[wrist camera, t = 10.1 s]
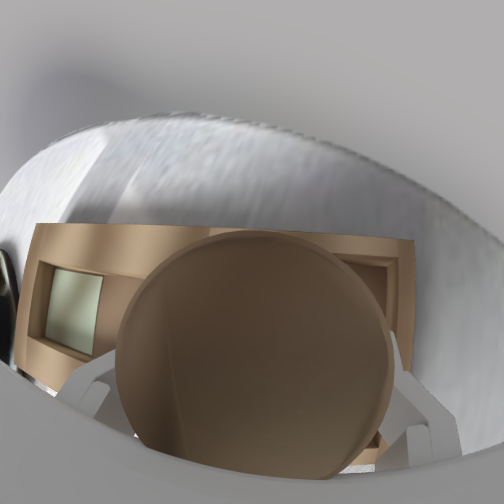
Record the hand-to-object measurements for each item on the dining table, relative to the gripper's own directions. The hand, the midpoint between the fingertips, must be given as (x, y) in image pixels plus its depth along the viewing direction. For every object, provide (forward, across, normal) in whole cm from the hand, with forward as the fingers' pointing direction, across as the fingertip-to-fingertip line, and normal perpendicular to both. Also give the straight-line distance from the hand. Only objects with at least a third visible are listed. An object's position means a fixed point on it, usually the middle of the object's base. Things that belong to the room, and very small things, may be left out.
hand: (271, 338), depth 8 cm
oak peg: (+3, 0, +4) cm, 5 cm away
